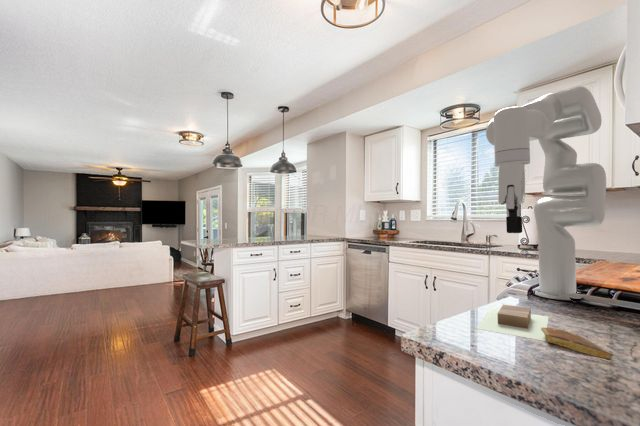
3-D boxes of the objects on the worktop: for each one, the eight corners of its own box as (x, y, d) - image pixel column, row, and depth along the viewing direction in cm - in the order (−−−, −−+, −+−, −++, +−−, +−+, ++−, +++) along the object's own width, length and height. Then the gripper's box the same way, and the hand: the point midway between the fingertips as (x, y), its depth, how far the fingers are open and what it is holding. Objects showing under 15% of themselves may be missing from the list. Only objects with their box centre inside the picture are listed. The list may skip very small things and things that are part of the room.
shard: (612, 363, 57) (613, 353, 57) (565, 356, 58) (566, 346, 58) (574, 339, 68) (575, 331, 68) (534, 334, 69) (535, 325, 69)
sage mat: (490, 310, 89) (490, 308, 89) (548, 318, 81) (548, 316, 81) (476, 331, 74) (476, 328, 74) (545, 343, 66) (545, 340, 66)
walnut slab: (503, 304, 84) (497, 313, 77) (530, 308, 80) (527, 317, 73) (503, 314, 84) (497, 323, 77) (530, 318, 80) (527, 328, 73)
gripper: (499, 163, 89) (501, 230, 89) (490, 157, 77) (492, 235, 77) (532, 160, 84) (534, 230, 84) (527, 153, 72) (530, 235, 72)
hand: (514, 232), depth 81 cm, fingers closed
